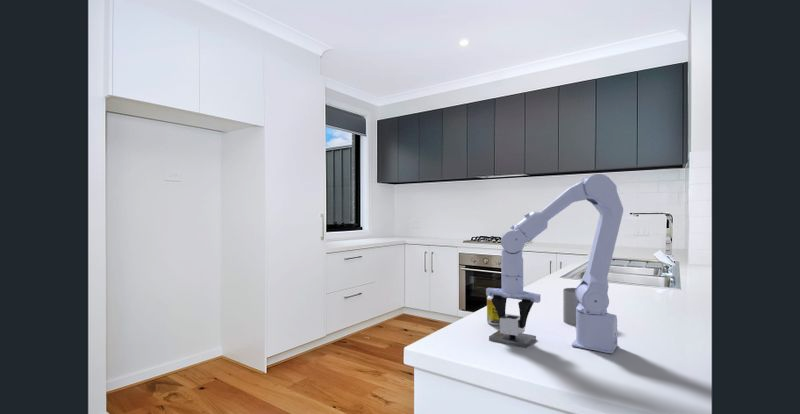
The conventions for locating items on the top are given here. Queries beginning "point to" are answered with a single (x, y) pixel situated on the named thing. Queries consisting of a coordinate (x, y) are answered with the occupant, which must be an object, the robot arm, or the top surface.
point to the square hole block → (511, 325)
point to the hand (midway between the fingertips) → (512, 325)
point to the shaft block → (513, 339)
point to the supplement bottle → (492, 312)
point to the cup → (569, 306)
